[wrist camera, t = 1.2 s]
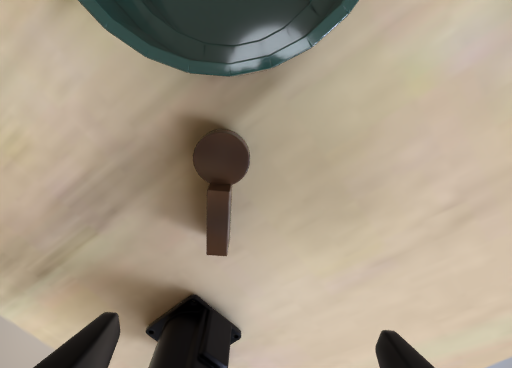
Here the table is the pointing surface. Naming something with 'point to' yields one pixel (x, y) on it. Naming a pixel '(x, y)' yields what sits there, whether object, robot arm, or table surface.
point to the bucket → (220, 30)
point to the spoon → (220, 182)
